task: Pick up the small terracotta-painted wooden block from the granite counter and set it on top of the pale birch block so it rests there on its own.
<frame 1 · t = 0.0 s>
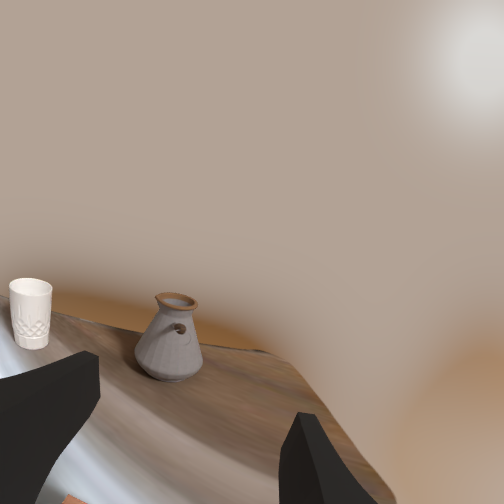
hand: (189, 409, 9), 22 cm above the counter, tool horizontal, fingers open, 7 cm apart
white cup: (31, 341, 41), on the counter
coffee pot: (166, 386, 43), on the counter
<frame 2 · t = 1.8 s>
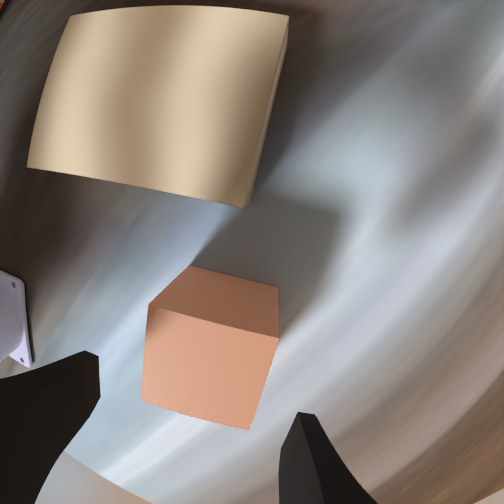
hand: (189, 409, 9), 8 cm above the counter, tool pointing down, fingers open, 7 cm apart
birch block: (164, 104, 15), on the counter
terracotta block: (224, 316, 17), on the counter
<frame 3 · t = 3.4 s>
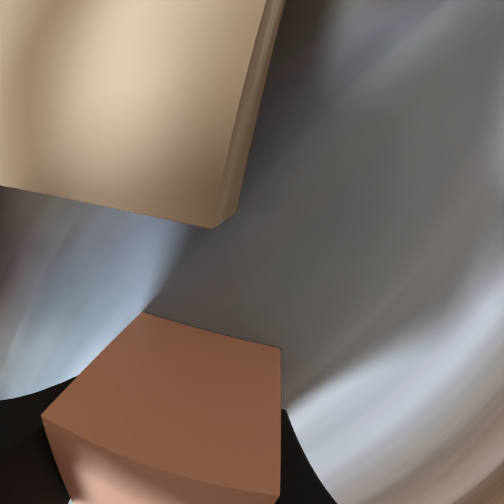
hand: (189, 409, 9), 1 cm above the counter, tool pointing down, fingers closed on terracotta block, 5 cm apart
birch block: (107, 66, 9), on the counter
terracotta block: (198, 386, 11), on the counter, touching gripper
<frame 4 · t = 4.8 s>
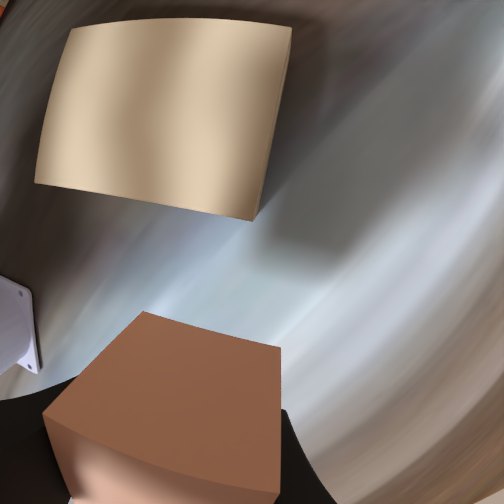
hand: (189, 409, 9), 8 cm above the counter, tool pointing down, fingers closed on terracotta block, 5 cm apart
birch block: (169, 117, 16), on the counter
terracotta block: (199, 385, 11), point 7 cm above the counter, touching gripper
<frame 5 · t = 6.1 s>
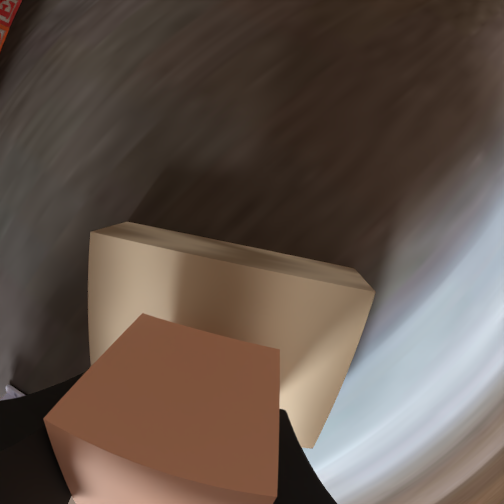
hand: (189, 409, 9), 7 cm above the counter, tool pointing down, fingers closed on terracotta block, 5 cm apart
birch block: (223, 322, 17), on the counter
terracotta block: (198, 386, 11), point 5 cm above the counter, touching gripper
when the fingers open (7 cm above the counter, at t = 6.7 s): terracotta block drops 2 cm, point 4 cm above the counter.
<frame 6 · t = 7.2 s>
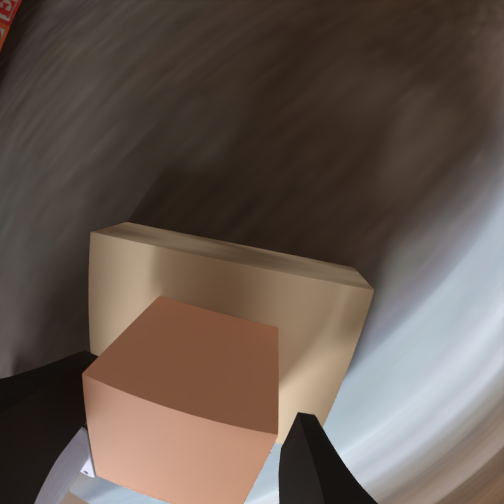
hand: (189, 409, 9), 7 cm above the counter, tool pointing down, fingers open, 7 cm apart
birch block: (223, 322, 17), on the counter
terracotta block: (206, 362, 13), point 4 cm above the counter
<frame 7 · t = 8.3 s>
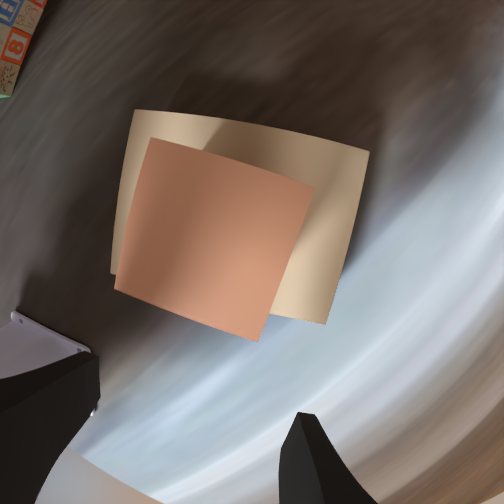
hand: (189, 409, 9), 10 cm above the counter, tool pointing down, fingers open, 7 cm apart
birch block: (238, 207, 19), on the counter
terracotta block: (231, 218, 15), point 4 cm above the counter
stack of blocks: (31, 4, 16), on the counter
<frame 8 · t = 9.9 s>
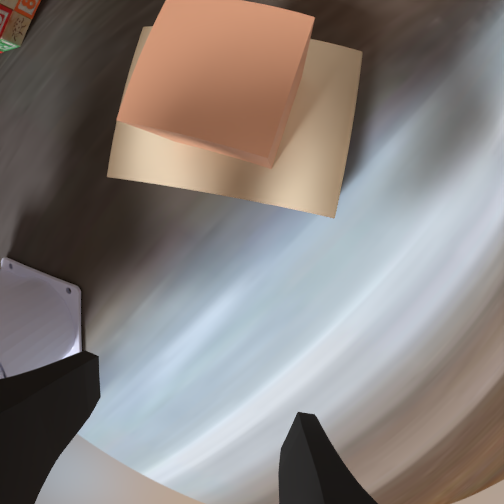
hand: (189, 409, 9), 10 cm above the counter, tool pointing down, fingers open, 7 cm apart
birch block: (239, 120, 18), on the counter, touching terracotta block
terracotta block: (237, 106, 14), point 4 cm above the counter, touching birch block
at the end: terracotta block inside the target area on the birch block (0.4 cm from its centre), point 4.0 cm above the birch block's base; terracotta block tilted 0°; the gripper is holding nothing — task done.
